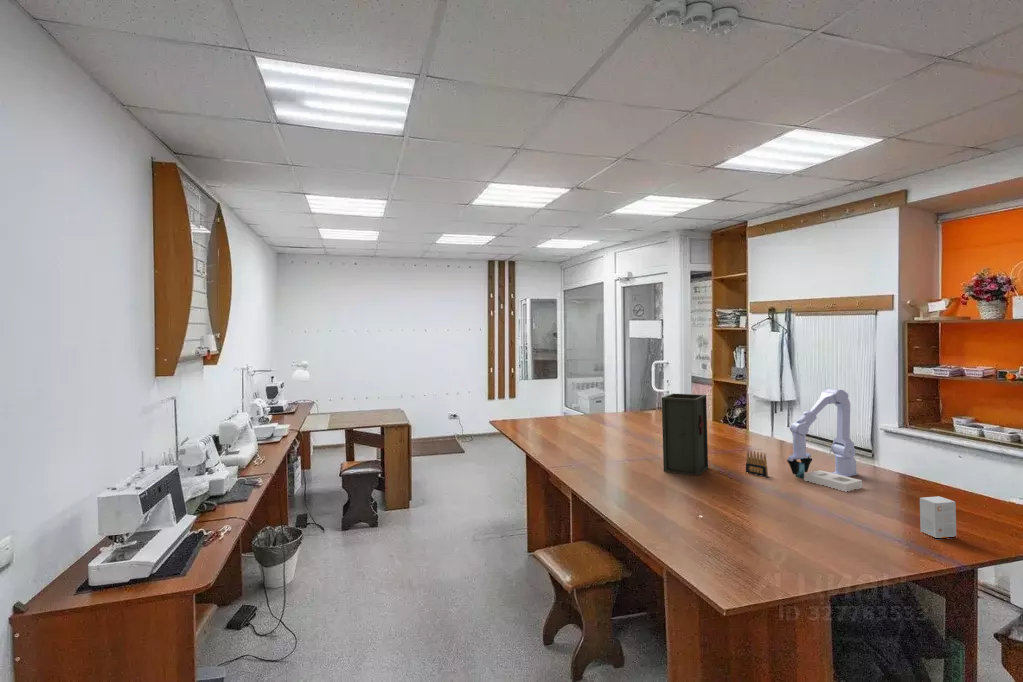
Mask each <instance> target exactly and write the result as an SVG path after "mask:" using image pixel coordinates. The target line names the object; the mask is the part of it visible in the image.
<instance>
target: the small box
mask: <svg viewBox="0 0 1023 682" xmlns="http://www.w3.org/2000/svg"><path fill="white" fill-rule="evenodd" d="M956 506H957V504H956V501H954V500H952V499H949V498H946V497H943V496H938V495H937V496H927V497H926V496H925V497H919V518H920V519H919V521H920V522H919V523H920V524H919V525H920V533H921V532H924V533H926V534H928V535H931V536H933V537H935V538H942V537H954V536H956V537H957V513H956V512H957V510H956V509H957V507H956Z"/></svg>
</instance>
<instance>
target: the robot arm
mask: <svg viewBox="0 0 1023 682" xmlns="http://www.w3.org/2000/svg"><path fill="white" fill-rule="evenodd" d="M832 404H833V405H834V406H836V407H837V408H836V409H837V410H836V411H837V412H836V437H835V438H833V441H832V445H831V447H830V449H831V451H832V453H833V454H834V455H833V456H834V460H835V461H834V465H835V466H834V467H835V468H834V469H835V470H834V471H832V472H830V473H834V474H838V475H842V476H846V477H852V476H856V475H859V473H857V461H856V460H857V459H856V458H855V457H854V456H856V448H855V443H854V442H853V440H852V439H851V402H850V399H849V393H848V392H846V390H844V389H838V388H837V389H836V388H832V387H826V388H825V389H823V391H822V392H821V393H820V397H819V398H818V399H817V401H816V402H815V403H814V405H813V406H812V407H811V409H810V410H806V411H804V412H802V415H801V416H800V417H799V418H798V419H797V420H796V421H795V422H793V423H792V424H790V427H789V431H790V432H791V434H792V454H791V455H789V456H788V457H787V460H786V461H787V463H788V465H789V467H790V469H791V472H792V475H795V476H796V475H797V474H798V466H799V463H800V462H802V463H804V469H805V473H809V467H810V465H811V463H812V461H813V457H812V453H809V452H807V439H806V437H807V434H808V433H809V431H810V430H809V429H810V427H811V425H813V423H814V422H815V421H816V420H817V419H818V418H817V415H818V414H819V413H820V412H821V411H822V410H823V409H824V408H825V407H826V406H827V405H832ZM798 460H800V461H798Z"/></svg>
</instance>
